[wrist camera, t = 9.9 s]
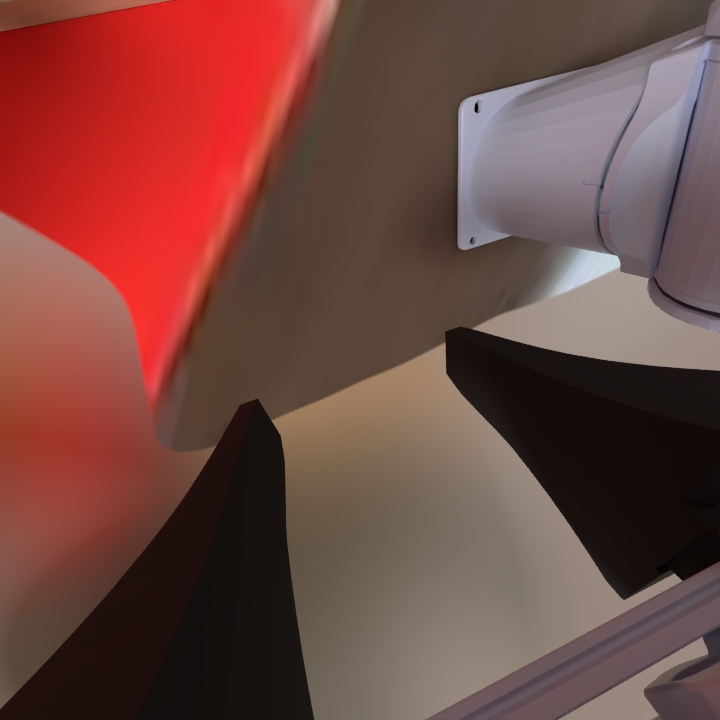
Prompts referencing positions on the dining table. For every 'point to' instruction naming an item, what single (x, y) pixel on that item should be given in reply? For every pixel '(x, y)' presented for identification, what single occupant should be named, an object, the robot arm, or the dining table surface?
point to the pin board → (57, 10)
